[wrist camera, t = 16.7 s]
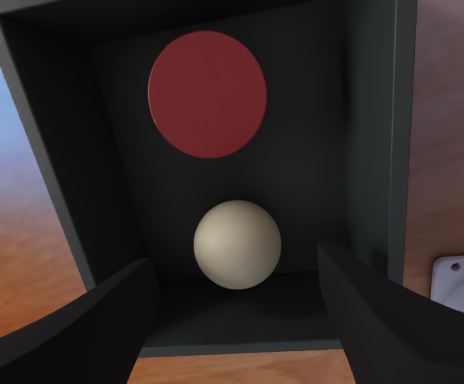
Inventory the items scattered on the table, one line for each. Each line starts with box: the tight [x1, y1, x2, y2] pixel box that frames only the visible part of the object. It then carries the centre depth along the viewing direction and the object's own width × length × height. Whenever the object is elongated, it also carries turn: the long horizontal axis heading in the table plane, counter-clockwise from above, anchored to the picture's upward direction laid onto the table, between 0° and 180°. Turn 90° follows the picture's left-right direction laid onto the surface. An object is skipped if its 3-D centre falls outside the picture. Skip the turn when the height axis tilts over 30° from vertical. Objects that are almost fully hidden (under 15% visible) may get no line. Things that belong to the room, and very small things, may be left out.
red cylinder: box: [148, 30, 267, 158], centre depth 12 cm, size 5×5×4 cm
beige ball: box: [194, 200, 281, 289], centre depth 14 cm, size 4×4×4 cm
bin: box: [0, 0, 418, 358], centre depth 12 cm, size 13×15×6 cm
